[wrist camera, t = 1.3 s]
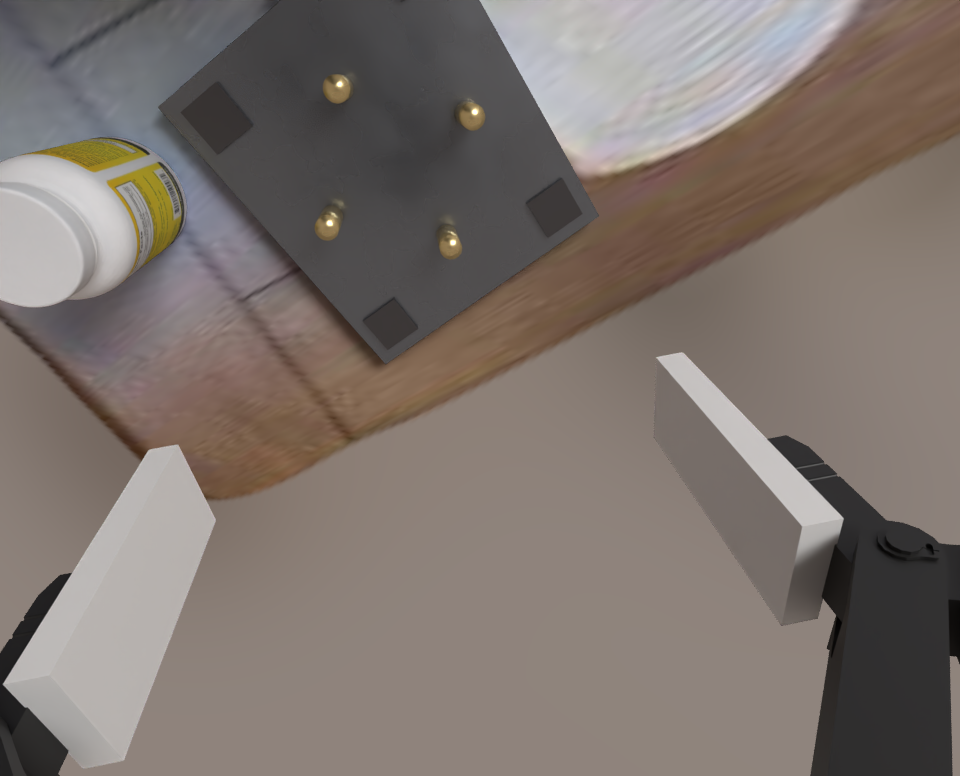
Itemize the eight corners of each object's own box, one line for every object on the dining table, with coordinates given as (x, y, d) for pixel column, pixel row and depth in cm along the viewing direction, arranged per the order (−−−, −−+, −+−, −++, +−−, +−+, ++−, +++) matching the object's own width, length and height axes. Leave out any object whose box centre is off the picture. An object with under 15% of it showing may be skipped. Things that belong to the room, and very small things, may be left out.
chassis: (166, 106, 30) (133, 110, 26) (413, -109, 27) (416, -138, 23) (386, 356, 38) (384, 386, 34) (593, 211, 35) (615, 227, 31)
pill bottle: (43, 196, 31) (-117, 250, 21) (107, 108, 29) (-33, 124, 20) (149, 274, 34) (50, 354, 24) (213, 197, 32) (135, 250, 22)
